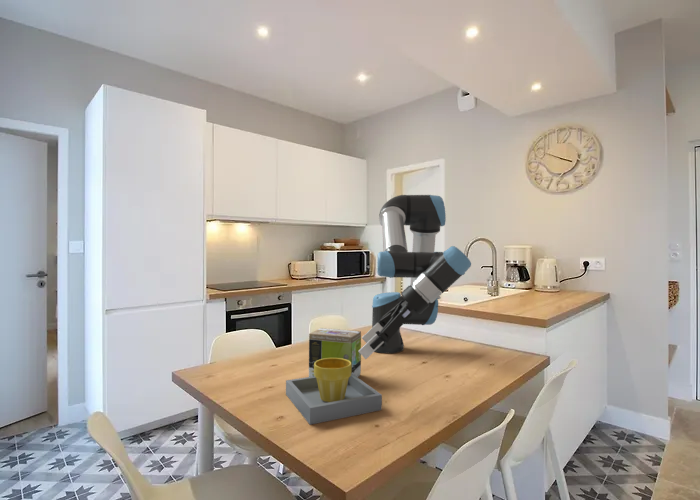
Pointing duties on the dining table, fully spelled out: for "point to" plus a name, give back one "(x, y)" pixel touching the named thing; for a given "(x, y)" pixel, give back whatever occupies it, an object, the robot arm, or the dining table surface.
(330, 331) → the tea box
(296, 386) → the serving tray
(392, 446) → the dining table surface
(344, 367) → the plant pot
